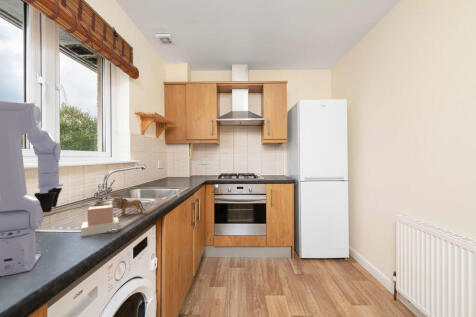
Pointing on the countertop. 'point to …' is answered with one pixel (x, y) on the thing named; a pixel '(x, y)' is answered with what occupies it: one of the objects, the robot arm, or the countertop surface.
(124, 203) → the lion figurine
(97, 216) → the terracotta brick
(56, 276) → the countertop surface
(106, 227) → the cream base brick
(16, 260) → the robot arm
